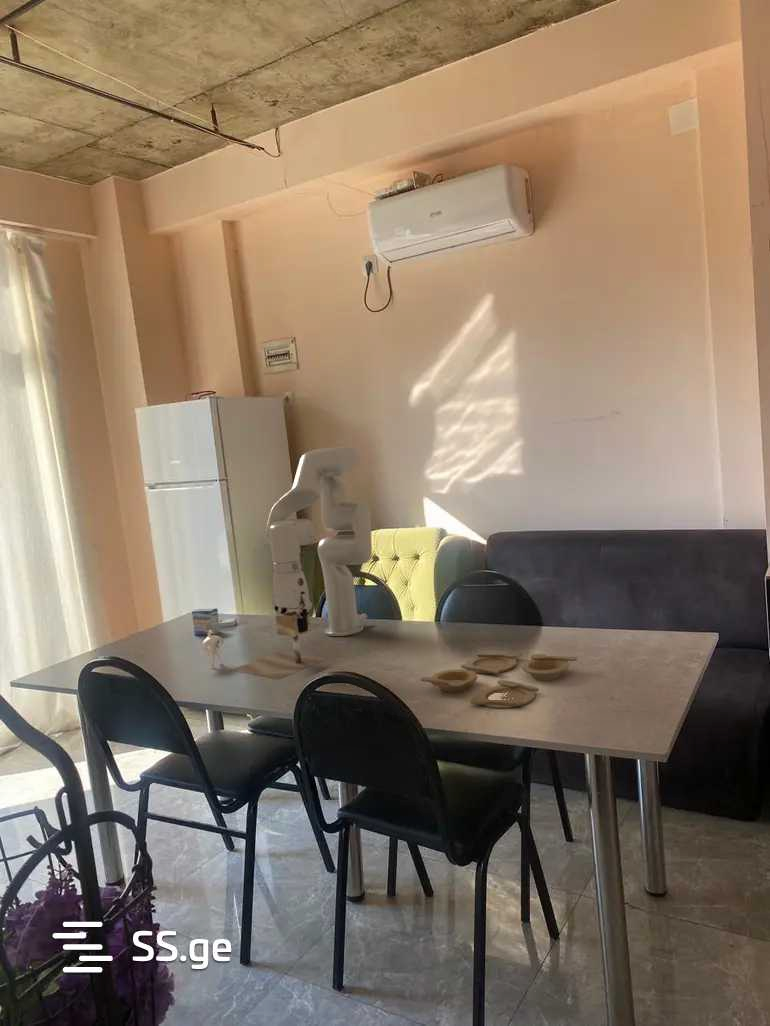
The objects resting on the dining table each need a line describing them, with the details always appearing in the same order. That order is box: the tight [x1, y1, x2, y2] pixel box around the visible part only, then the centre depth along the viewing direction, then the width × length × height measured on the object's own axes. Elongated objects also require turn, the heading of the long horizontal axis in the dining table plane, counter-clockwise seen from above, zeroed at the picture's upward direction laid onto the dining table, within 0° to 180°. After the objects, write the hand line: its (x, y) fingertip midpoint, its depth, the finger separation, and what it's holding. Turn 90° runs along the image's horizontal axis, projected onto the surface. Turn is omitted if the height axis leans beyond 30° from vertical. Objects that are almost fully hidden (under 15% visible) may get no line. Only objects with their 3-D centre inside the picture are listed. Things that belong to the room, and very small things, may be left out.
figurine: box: [201, 630, 225, 669], centre depth 217 cm, size 7×4×12 cm, turn 138°
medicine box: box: [191, 608, 221, 636], centre depth 264 cm, size 8×4×9 cm, turn 73°
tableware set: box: [420, 652, 578, 709], centre depth 184 cm, size 35×29×4 cm
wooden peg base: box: [230, 635, 326, 680], centre depth 212 cm, size 18×20×10 cm
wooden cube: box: [275, 609, 312, 638], centre depth 211 cm, size 7×7×6 cm
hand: (294, 629), depth 211 cm, fingers closed on wooden cube, 6 cm apart
